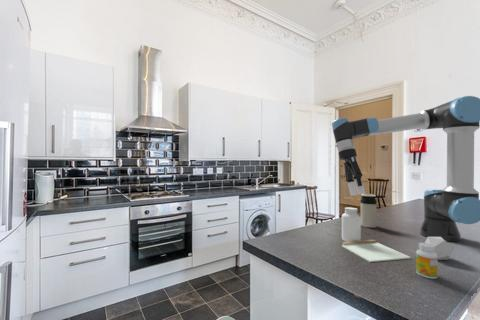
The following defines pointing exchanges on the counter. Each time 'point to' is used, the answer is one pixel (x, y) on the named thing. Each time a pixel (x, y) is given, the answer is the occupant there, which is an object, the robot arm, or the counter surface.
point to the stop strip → (358, 242)
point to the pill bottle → (351, 225)
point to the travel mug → (368, 211)
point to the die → (440, 247)
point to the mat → (375, 252)
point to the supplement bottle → (427, 261)
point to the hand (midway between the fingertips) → (357, 194)
